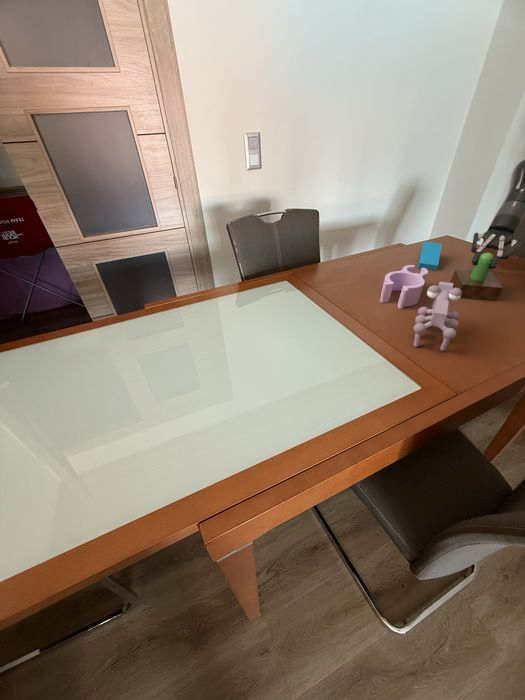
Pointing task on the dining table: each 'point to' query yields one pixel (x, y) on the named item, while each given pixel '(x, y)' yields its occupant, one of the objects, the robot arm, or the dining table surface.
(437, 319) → the mauve bug toy
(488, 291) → the walnut block
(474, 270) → the green toy
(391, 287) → the clip
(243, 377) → the dining table surface
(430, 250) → the blue rectangular brick
